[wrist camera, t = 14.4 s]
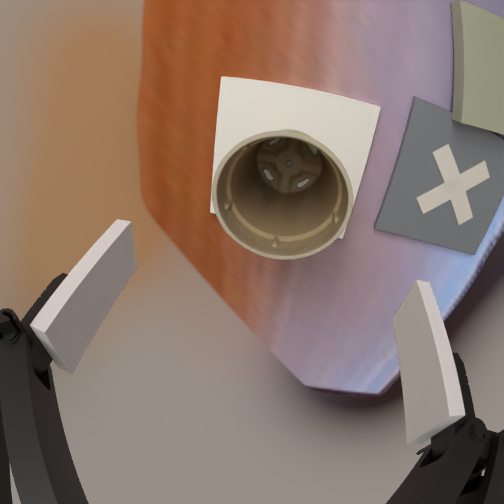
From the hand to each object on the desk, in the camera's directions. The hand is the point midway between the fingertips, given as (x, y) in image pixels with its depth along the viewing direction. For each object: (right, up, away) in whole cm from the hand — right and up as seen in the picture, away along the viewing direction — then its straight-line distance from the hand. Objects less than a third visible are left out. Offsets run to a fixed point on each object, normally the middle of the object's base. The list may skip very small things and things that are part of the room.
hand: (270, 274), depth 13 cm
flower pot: (+3, +9, +13) cm, 17 cm away
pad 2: (+20, +8, +12) cm, 24 cm away
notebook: (+21, +18, +4) cm, 28 cm away
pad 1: (+3, +10, +14) cm, 17 cm away
